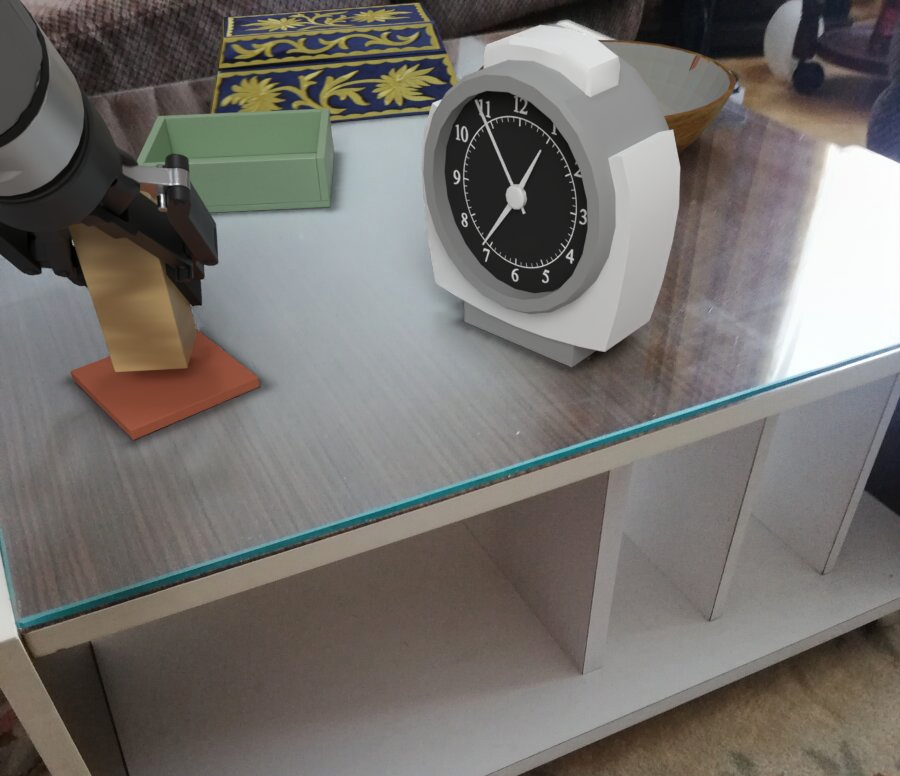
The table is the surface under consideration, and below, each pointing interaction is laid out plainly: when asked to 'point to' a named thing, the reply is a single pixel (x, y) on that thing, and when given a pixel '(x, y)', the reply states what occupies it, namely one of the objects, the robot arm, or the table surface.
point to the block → (135, 302)
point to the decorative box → (333, 62)
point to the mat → (165, 388)
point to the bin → (250, 157)
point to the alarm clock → (551, 194)
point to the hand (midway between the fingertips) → (155, 288)
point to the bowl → (679, 85)
